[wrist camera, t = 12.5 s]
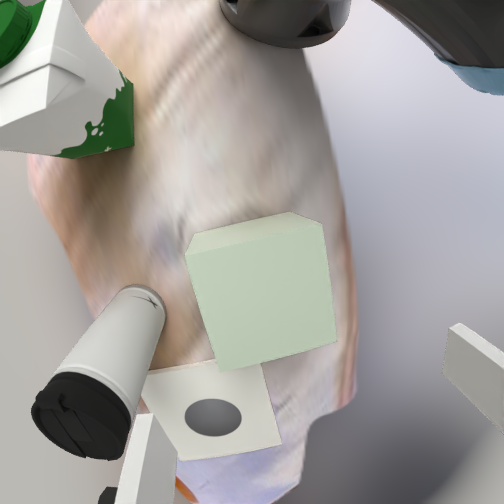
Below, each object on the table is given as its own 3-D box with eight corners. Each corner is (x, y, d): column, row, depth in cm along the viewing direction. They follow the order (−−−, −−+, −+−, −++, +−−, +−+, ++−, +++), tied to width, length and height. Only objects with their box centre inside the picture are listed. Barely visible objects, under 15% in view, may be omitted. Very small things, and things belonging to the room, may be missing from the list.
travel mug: (158, 277, 30) (90, 400, 11) (172, 331, 32) (138, 476, 13) (107, 284, 30) (8, 393, 11) (123, 336, 31) (58, 466, 12)
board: (133, 372, 33) (131, 377, 32) (257, 349, 34) (258, 354, 33) (181, 456, 37) (180, 461, 36) (280, 439, 38) (282, 444, 37)
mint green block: (194, 233, 30) (184, 256, 20) (289, 211, 30) (321, 223, 21) (218, 320, 32) (220, 372, 23) (304, 298, 33) (337, 341, 23)
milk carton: (141, 75, 25) (62, -36, 6) (143, 154, 27) (31, 110, 8) (70, 92, 25) (-46, 30, 5) (70, 168, 27) (-70, 164, 7)
